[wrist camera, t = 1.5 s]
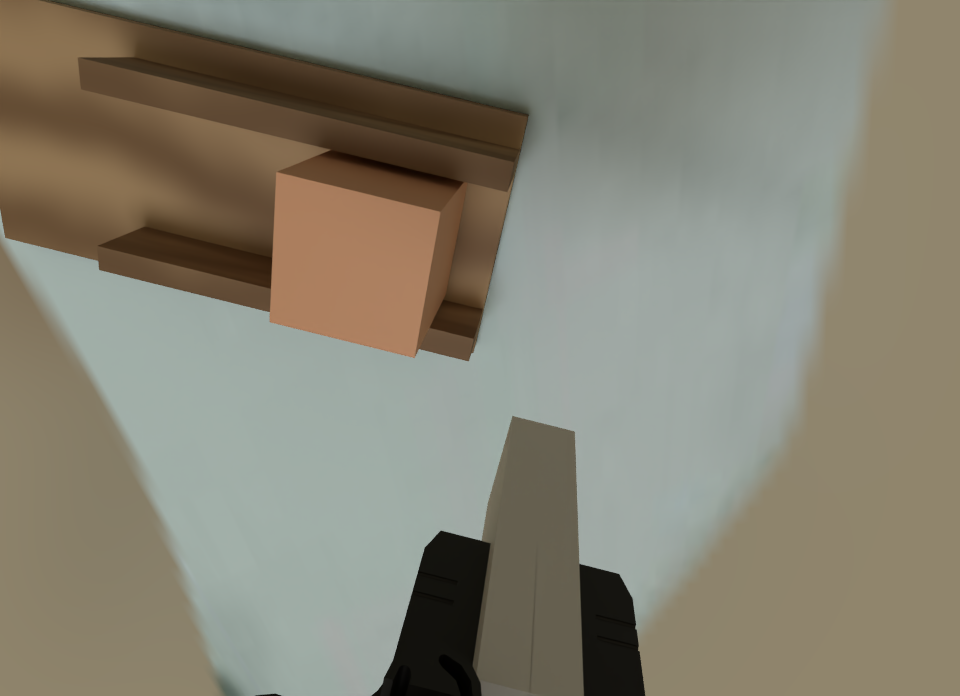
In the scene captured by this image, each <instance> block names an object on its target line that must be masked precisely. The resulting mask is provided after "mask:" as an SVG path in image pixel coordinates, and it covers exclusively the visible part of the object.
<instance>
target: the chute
mask: <svg viewBox="0 0 960 696" xmlns="http://www.w3.org/2000/svg"><path fill="white" fill-rule="evenodd" d="M528 116H529V115H527V114H523V113H518V112H514V111H510V110H506V109H502V108H497V107H493V106H489V105H485V104H481V103H476V102H472V101H468V100H464V99H460V98H455V97H451V96H447V95H443V94H439V93H434V92H430V91H426V90H422V89H418V88H413V87H409V86H405V85H401V84H397V83H393V82H388V81H384V80H380V79H376V78H372V77H367V76H363V75H359V74H355V73H351V72H346V71H342V70H338V69H334V68H330V67H325V66H321V65H317V64H313V63H309V62H304V61H300V60H296V59H292V58H288V57H284V56H279V55H275V54H271V53H267V52H263V51H258V50H254V49H250V48H246V47H242V46H237V45H233V44H229V43H225V42H221V41H216V40H212V39H208V38H204V37H200V36H195V35H191V34H187V33H183V32H179V31H174V30H170V29H166V28H162V27H158V26H154V25H149V24H145V23H141V22H137V21H133V20H128V19H124V18H120V17H116V16H112V15H107V14H103V13H99V12H95V11H91V10H86V9H82V8H78V7H74V6H70V5H65V4H61V3H57V2H53V1H49V0H0V210H1V216H2V222H3V227H4V233H5V238H8V239H12V240H16V241H20V242H24V243H28V244H33V245H37V246H41V247H45V248H49V249H53V250H57V251H61V252H65V253H69V254H73V255H77V256H81V257H85V258H89V259H93V260H97V261H98V262H99V270H102V271H106V272H110V273H114V274H118V275H122V276H126V277H130V278H134V279H138V280H142V281H146V282H150V283H154V284H158V285H162V286H166V287H170V288H174V289H178V290H183V291H187V292H191V293H195V294H199V295H203V296H207V297H211V298H215V299H219V300H223V301H227V302H231V303H235V304H239V305H243V306H247V307H251V308H255V309H259V310H263V311H267V312H270V302H271V279H272V256H273V234H274V211H275V189H276V172H278V171H280V170H283V169H285V168H287V167H290V166H292V165H295V164H297V163H300V162H302V161H305V160H307V159H310V158H312V157H315V156H317V155H320V154H322V153H325V152H327V151H330V150H334V151H338V152H342V153H347V154H351V155H355V156H359V157H363V158H367V159H371V160H376V161H380V162H384V163H388V164H392V165H396V166H400V167H405V168H409V169H413V170H417V171H421V172H425V173H429V174H434V175H438V176H442V177H446V178H450V179H454V180H458V181H463V182H467V183H468V184H467V189H466V194H465V199H464V204H463V209H462V214H461V220H460V225H459V230H458V235H457V240H456V245H455V250H454V255H453V260H452V266H451V271H450V276H449V281H448V286H447V291H446V295H445V297H444V299H443V301H442V303H441V305H440V307H439V309H438V311H437V313H436V315H435V317H434V319H433V321H432V324H431V326H430V328H429V330H428V332H427V334H426V336H425V338H424V340H423V342H422V344H421V346H420V348H419V349H421V350H425V351H429V352H433V353H437V354H441V355H445V356H449V357H453V358H457V359H462V360H466V361H469V359H470V355H471V353H473V352H474V348H475V345H476V341H477V336H478V332H479V328H480V324H481V319H482V315H483V311H484V306H485V302H486V298H487V293H488V289H489V285H490V280H491V276H492V272H493V267H494V263H495V259H496V254H497V250H498V246H499V241H500V237H501V233H502V228H503V224H504V220H505V216H506V211H507V207H508V203H509V198H510V194H511V190H512V185H513V181H514V177H515V172H516V168H517V164H518V159H519V155H520V151H521V146H522V142H523V138H524V133H525V129H526V125H527V121H528Z"/></svg>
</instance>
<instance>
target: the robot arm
mask: <svg viewBox="0 0 960 696" xmlns="http://www.w3.org/2000/svg"><path fill="white" fill-rule="evenodd" d="M635 626H636V621H635V614H634V606H633V599H632V597H631V595H630V593H629V591H628V590H627V588H626V586H625V584H624V582H623V580H622V579H621V577H620V575H619V574H617V573H613V572H609V571H605V570H601V569H597V568H593V567H589V566H585V565H581V564H579V542H578V513H577V484H576V455H575V432H574V431H570V430H566V429H562V428H558V427H554V426H550V425H546V424H542V423H538V422H534V421H530V420H526V419H522V418H518V417H514V416H512V420H511V423H510V427H509V430H508V434H507V438H506V441H505V445H504V448H503V452H502V455H501V459H500V462H499V466H498V469H497V473H496V476H495V480H494V484H493V487H492V491H491V494H490V498H489V501H488V506H487V512H486V518H485V524H484V530H483V536H482V541H480V540H476V539H472V538H468V537H464V536H460V535H456V534H452V533H448V532H444V531H440V532H439V533H438V534H437V535H436V536H435V537H434V539H433V540H432V541H431V542H430V543H429V544H428V545H427V546H426V547H425V549H424V553H423V556H422V560H421V563H420V567H419V570H418V574H417V578H416V581H415V585H414V588H413V592H412V595H411V599H410V602H409V606H408V609H407V613H406V617H405V620H404V624H403V627H402V631H401V634H400V638H399V641H398V645H397V649H396V652H395V656H394V659H393V662H392V664H391V665H390V667H389V669H388V671H387V673H386V675H385V677H384V681H383V684H382V686H381V687H380V688H379V690H378V691H377V692H375V693H374V694H373V695H372V696H645V690H644V683H643V675H642V667H641V660H640V652H639V651H638V647H639V644H638V637H637V630H636V629H635ZM256 696H281V695H278V694H267V695H256Z"/></svg>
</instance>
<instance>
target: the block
mask: <svg viewBox="0 0 960 696" xmlns="http://www.w3.org/2000/svg"><path fill="white" fill-rule="evenodd" d="M467 184H468V183H467V182H463V181H458V180H454V179H450V178H446V177H442V176H438V175H434V174H429V173H425V172H421V171H417V170H413V169H409V168H405V167H400V166H396V165H392V164H388V163H384V162H380V161H376V160H371V159H367V158H363V157H359V156H355V155H351V154H347V153H342V152H338V151H334V150H330V151H327V152H325V153H322V154H320V155H317V156H315V157H312V158H310V159H307V160H305V161H302V162H300V163H297V164H295V165H292V166H290V167H287V168H285V169H283V170H280V171H278V172H276V189H275V211H274V234H273V256H272V279H271V302H270V322H272V323H276V324H280V325H284V326H288V327H292V328H296V329H300V330H304V331H308V332H312V333H316V334H320V335H324V336H328V337H332V338H336V339H340V340H344V341H348V342H352V343H356V344H360V345H365V346H369V347H373V348H377V349H381V350H385V351H389V352H393V353H397V354H401V355H405V356H409V357H413V358H415V356H416V354H417V352H418V350H419V348H420V346H421V344H422V342H423V340H424V338H425V336H426V334H427V332H428V330H429V328H430V326H431V324H432V321H433V319H434V317H435V315H436V313H437V311H438V309H439V307H440V305H441V303H442V301H443V299H444V297H445V295H446V291H447V286H448V281H449V276H450V271H451V266H452V260H453V255H454V250H455V245H456V240H457V235H458V230H459V225H460V220H461V214H462V209H463V204H464V199H465V194H466V189H467Z"/></svg>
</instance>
